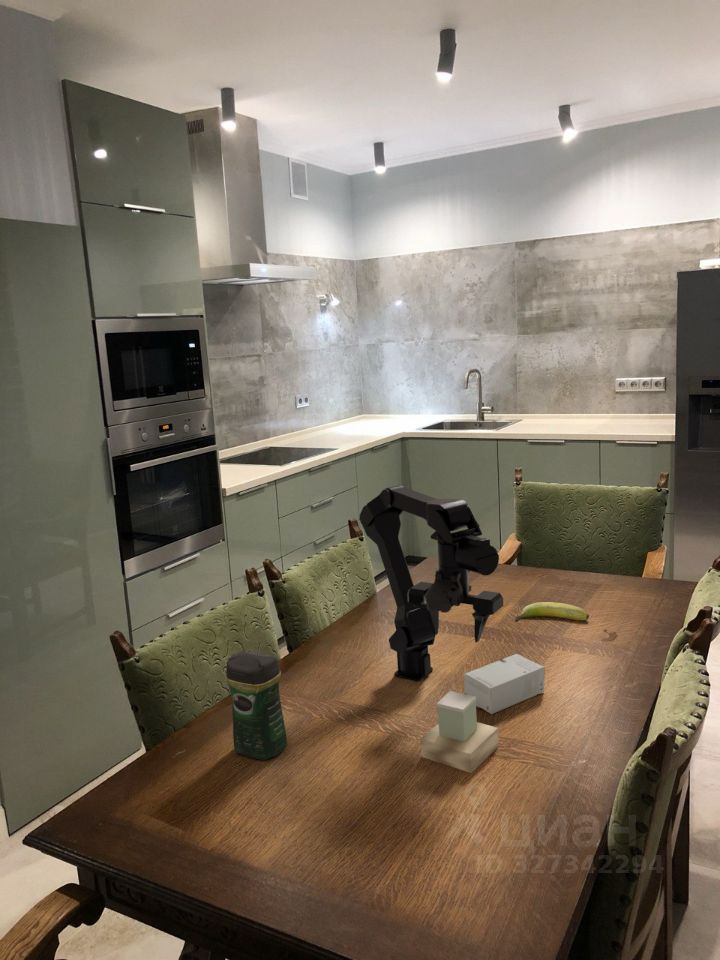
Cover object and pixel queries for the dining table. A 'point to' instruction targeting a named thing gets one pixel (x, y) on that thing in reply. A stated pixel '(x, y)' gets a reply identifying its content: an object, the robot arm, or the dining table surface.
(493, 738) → the beech box
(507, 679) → the skincare box
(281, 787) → the dining table surface
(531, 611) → the green-yellow banana
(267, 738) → the coffee jar
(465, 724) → the tea tin
